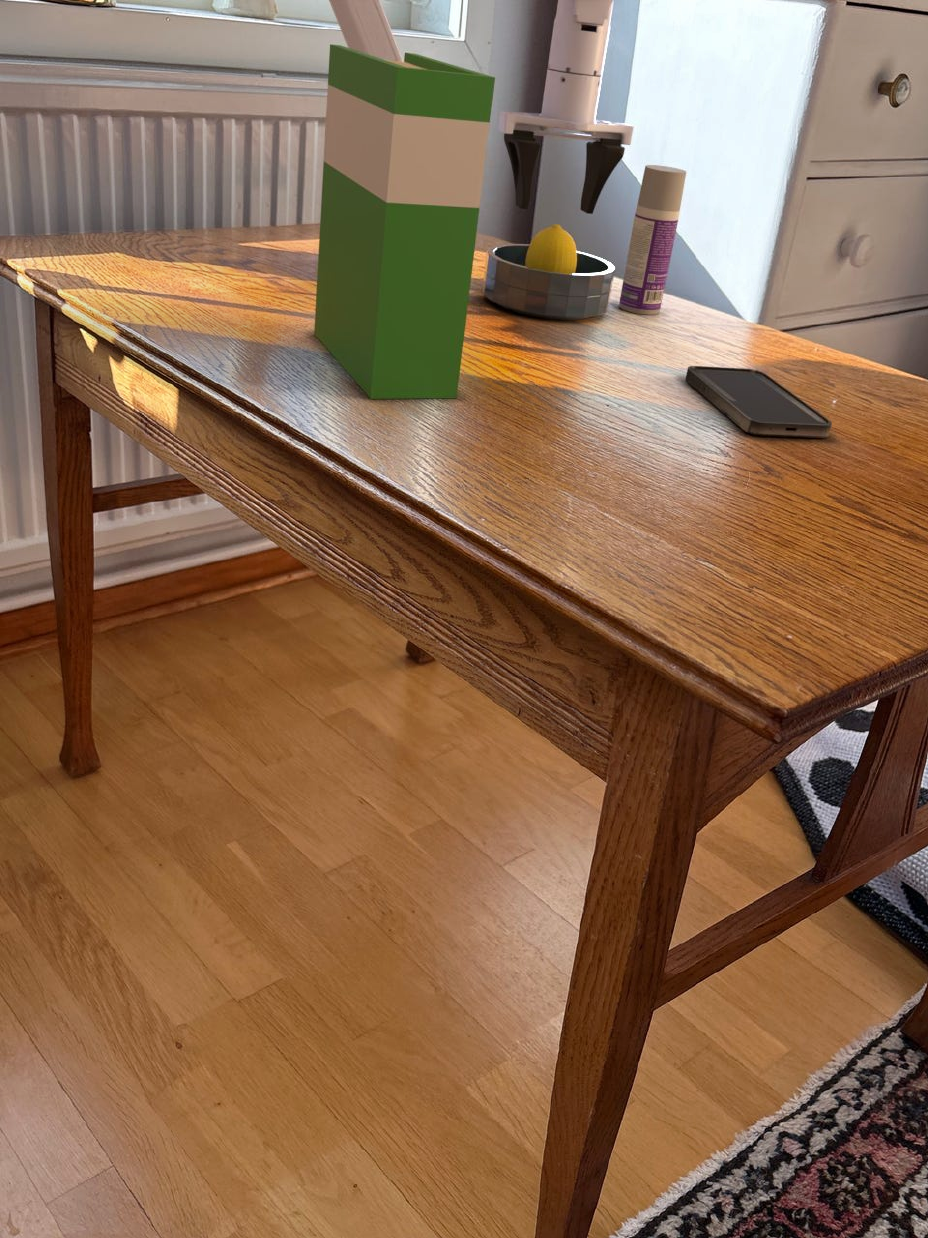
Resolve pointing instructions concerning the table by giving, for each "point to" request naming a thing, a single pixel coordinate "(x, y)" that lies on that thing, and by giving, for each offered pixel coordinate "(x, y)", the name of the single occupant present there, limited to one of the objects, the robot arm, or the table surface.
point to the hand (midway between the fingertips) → (554, 209)
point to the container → (652, 239)
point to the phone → (758, 402)
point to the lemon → (552, 251)
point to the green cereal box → (400, 219)
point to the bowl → (547, 285)
